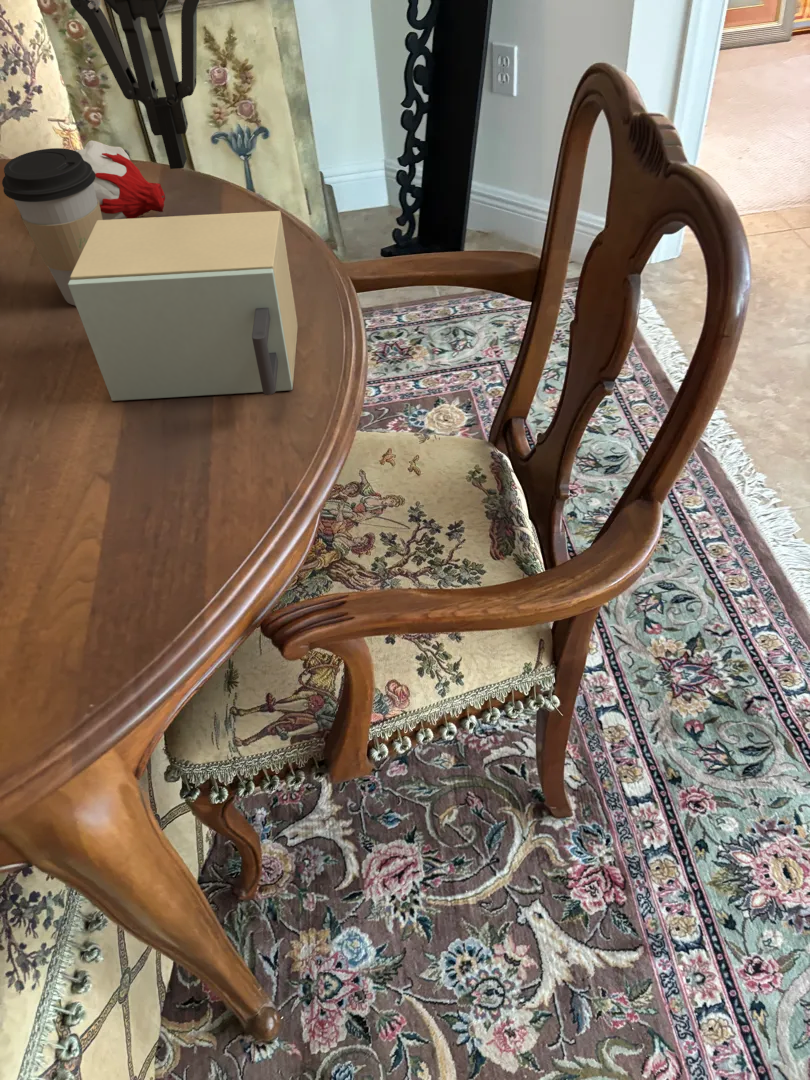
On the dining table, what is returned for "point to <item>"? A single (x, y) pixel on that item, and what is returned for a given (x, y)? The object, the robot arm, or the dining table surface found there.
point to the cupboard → (194, 252)
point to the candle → (120, 183)
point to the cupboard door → (185, 333)
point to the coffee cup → (55, 206)
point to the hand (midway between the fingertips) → (178, 163)
